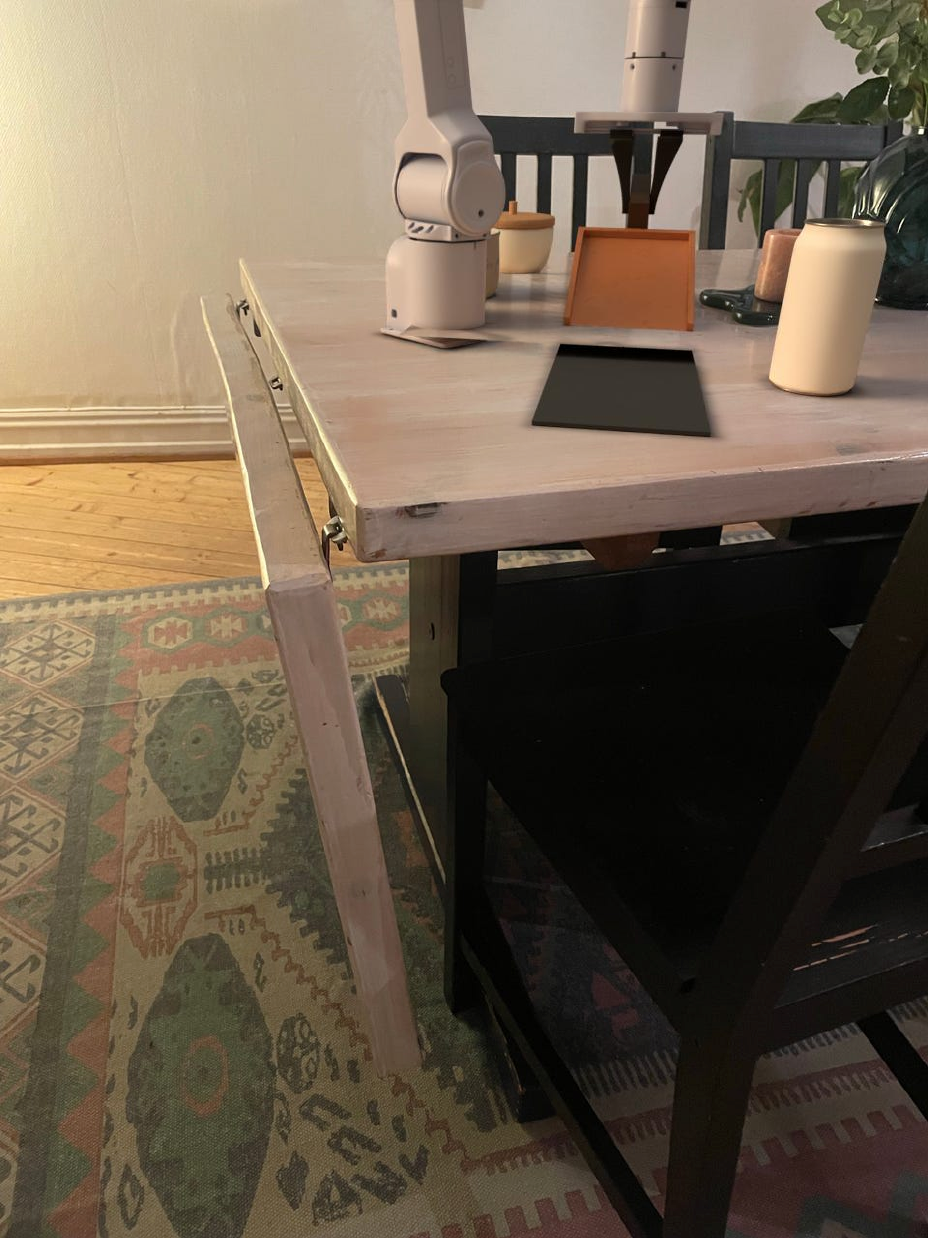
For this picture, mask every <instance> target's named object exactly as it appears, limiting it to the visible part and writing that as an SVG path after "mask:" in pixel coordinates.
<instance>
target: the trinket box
mask: <svg viewBox="0 0 928 1238" xmlns="http://www.w3.org/2000/svg"><path fill="white" fill-rule="evenodd" d="M508 204H509V205H508V211H503V212H502V214H501V217H500V219H499V220H498V222H497V223H496V225H495V226H494V227H493V228H496V229H498V230H500V236H499V274H530V273H531V274H533V273H534V274H540V273H541V272H542V271H543V270H544V268H545V266H546V265H547V263H548V261H549V259H550V255H551V252H552V247H553V240H554V230H555V229H554V228H555V227H554V226H555V224H556V217H555V216H554V215H552V214H548V213H542V212H541V213H540V212H529V211H518V201H517V200H510V201H509V203H508Z"/></svg>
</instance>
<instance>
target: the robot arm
mask: <svg viewBox="0 0 928 1238" xmlns="http://www.w3.org/2000/svg"><path fill="white" fill-rule="evenodd" d="M392 1H393V8H394V15H395V24H396V32H397V37H398V38H397V39H398V49H399V55H400V62H401V70H402V79H403V85H404V94H405V101H406V109H407V120H406V122H405V124H404V125H403V127H402V129H401V130H400V131H399V133H398V135H397V136H396V138H395V140H394V143H393V146H394V156H395V165H394V166H395V167H394V174H393V177H392V181H391V197H392V203H393V206H394V209H395V211H396V213H397V214H398V216H399V217H400V218H401V219H402V221H403V222H404V231H405V232H404V233H406V234H405V235H402V236H401V237H399V236H398V238H395V240H394V241H393V243H391V246H390V247H389V250H388V252H387V254H386V258H385V291H386V292H385V295H386V296H385V297H386V301H385V302H386V326H381V327H380V333H381V334H386V335H389V336H392V337H397V338H401V339H405V340H409V341H412V342H417V343H419V344H420V343H421V344H425V345H428V346H432V347H436V348H440V349H451V348H455V347H460V346H466V345H470V344H476V343H481V342H485V341H487V339H482V338H481V339H480V338H463V337H462V338H461V337H460V338H459V337H445V336H444V337H443V336H424V335H423V336H422V335H404V334H403V333H405V331H406V330H407V329H408V328H409V327H411V326H414V327H417V328H422V329H428V330H438V331H459V330H470V329H476V328H479V327H482V326H484V325H485V323H486V298H485V294H486V252H487V239H490V238H491V229H492V228H493V227H494V226H495V225H496V223H497V222H498V220H499V219H500V217H501V214H502V212H504V208H505V203H506V195H507V194H506V184H505V178H504V176H503V173H502V171H501V169H500V167H499V164H498V163H497V160H496V157H495V151H494V142H493V137H492V134H491V133H490V132H489V130H488V129H487V127H486V126H485V125H484V123H483V122H482V121H481V120H480V118H479V116H477V114H476V112H475V111H474V108H473V99H472V87H471V78H470V67H469V57H468V56H469V55H468V44H467V43H468V42H467V33H466V24H465V23H466V21H465V11H464V0H392ZM691 4H692V0H629V5H628V15H627V16H628V17H627V28H626V29H627V30H626V41H625V50H624V63H623V74H622V86H621V94H620V95H621V96H620V107H619V108H620V109H619V111H583V110H582V111H579V110H578V111H575V112H574V126H573V127H574V128H573V130H574V131H573V133H574V134H609V135H608V136H609V139H608V142H609V145H610V148H611V151H612V152H611V153H612V155H613V159H614V163H615V167H616V171H617V175H618V181H619V186H620V196H621V214H623V215H628V213H629V202H630V193H631V177H632V163H633V156H634V155H633V153H634V145H635V135H658V136H657V140H656V146H655V156H654V167H653V175H652V180H651V189H650V202H649V211H648V216H651V215H652V216H655V215H656V208H657V204H658V199H659V196H660V194H661V191H662V188H663V186H664V182H665V180H666V177H667V175H668V173H669V171H670V169H671V166H672V164H673V162H674V160H675V158H676V155H677V154H678V152H679V150H680V148H681V147H682V144H683V142H684V135H688V136H691V135H692V136H700V135H701V136H721V135H722V130H723V123H724V116H725V113H724V112H679V105H680V98H681V90H682V89H681V88H682V81H683V73H684V72H683V70H684V65H685V63H684V62H685V57H686V56H685V55H686V47H687V39H688V38H687V37H688V30H689V22H690V13H691ZM630 122H637V123H638V122H643V123H644V122H645V123H646V122H647V123H648V122H649V123H665V127H669V128H651V127H649V128H647V127H646V128H645V127H644V128H643V127H642V128H640V127H635V128H634V127H628V126H630ZM670 127H671V128H670ZM672 127H676V128H672ZM402 334H403V335H402Z"/></svg>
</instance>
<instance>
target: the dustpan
mask: <svg viewBox="0 0 928 1238" xmlns="http://www.w3.org/2000/svg"><path fill="white" fill-rule="evenodd" d="M652 177H653V175H652V173H651V174H649V173H647V174H645V173H631V182H630V202H629V213H628V214H627V224H626V225H627V226H626V227H600V226H597V227H596V226H578V230H577V236H576V242H575V246H574V247H575V248H574V254H573V260H572V266H571V272H570V276H569V277H570V278H569V284H568V288H567V289H568V290H567V294H566V302H565V307H564V313H563V326H575V327H577V326H578V327H595V328H596V327H597V328H598V327H599V328H617V329H619V328H620V329H637V330H640V329H641V330H659V331H660V330H661V331H678V332H680V331H681V332H693V331H694V326H695V297H696V296H695V291H696V289H695V288H696V287H695V286H696V230H693V229H692V230H691V229H689V230H688V229H666V228H665V229H664V228H663V229H659V228H648V219H649V215H648V211H649V202H650V192H651V187H652Z"/></svg>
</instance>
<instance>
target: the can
mask: <svg viewBox="0 0 928 1238" xmlns="http://www.w3.org/2000/svg"><path fill="white" fill-rule="evenodd" d="M803 222H804V226H803V228H802V230H801V231H800V233H799V235H798V236H797V238H796V239H795V241H794V244H793V248H792V252H791V258H790V263H789V268H788V272H787V273H788V275H787V279H786V284H785V289H784V294H783V300H782V305H781V310H780V315H779V319H778V320H779V321H778V325H777V331H776V335H775V342H774V347H773V352H772V357H771V363H770V369H769V375H768V378H769V380H770V381H771V384H772V386H774V387H776V388H777V389H780V390H783V391H785V392H790V393H794V394H799V395H807V396H816V397H818V396H819V397H827V396H828V397H832V396H840V395H844V394H847V393H848V392H849V390H850V389H852V388H854V386H855V383H856V378H857V375H858V371H859V366H860V363H861V359H862V354H863V350H864V347H865V342H866V337H867V334H868V330H869V325H870V322H871V318H872V313H873V310H874V306H875V305H874V304H875V301H876V298H877V297H876V296H877V292H878V287H879V283H880V279H881V276H882V271H883V266H884V264H885V263H884V262H885V258H886V254H887V242H886V237H885V228H886V226H887V224H886V223H885V222H882V221H877V220H869V219H859V218H858V219H857V218H841V217H840V218H839V217H836V218H835V217H815V218H805V219H804V221H803Z"/></svg>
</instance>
